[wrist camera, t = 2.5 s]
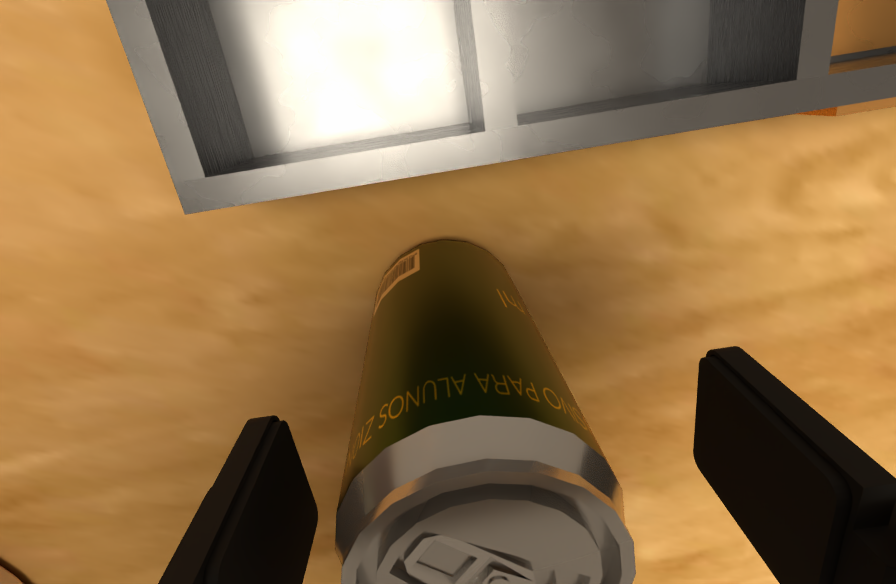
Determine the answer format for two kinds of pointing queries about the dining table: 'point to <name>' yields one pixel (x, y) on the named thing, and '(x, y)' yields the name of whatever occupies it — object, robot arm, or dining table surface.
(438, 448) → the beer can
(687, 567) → the dining table surface
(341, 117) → the rack
